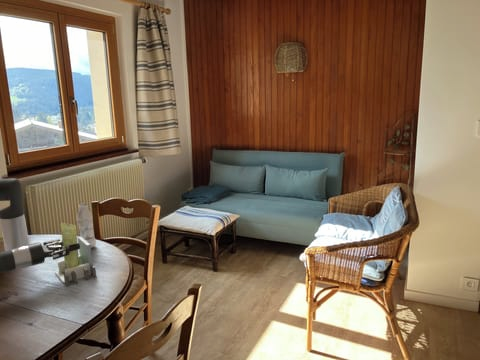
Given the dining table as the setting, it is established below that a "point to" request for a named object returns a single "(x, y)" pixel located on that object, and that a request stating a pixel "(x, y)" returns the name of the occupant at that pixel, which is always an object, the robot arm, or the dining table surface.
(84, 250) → the end holder
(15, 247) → the robot arm
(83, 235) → the plastic bottle
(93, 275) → the clips
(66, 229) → the tube
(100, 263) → the dining table surface
